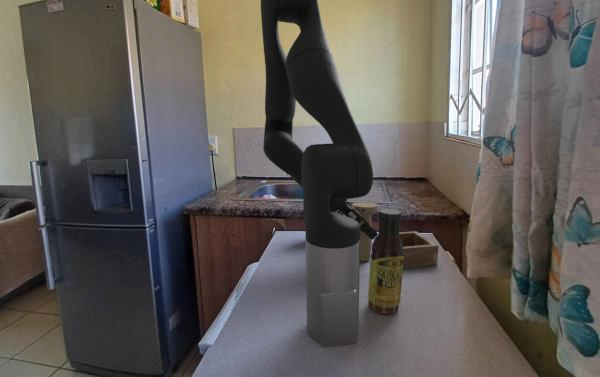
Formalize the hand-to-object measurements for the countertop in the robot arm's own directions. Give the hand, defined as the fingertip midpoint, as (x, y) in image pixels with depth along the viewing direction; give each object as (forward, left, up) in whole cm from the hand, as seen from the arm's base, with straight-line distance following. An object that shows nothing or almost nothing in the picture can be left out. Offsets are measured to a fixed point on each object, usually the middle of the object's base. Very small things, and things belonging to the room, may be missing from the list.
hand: (368, 231), depth 90 cm
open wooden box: (-1, -10, -8) cm, 13 cm away
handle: (0, +1, -8) cm, 8 cm away
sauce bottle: (-23, +5, -8) cm, 25 cm away
